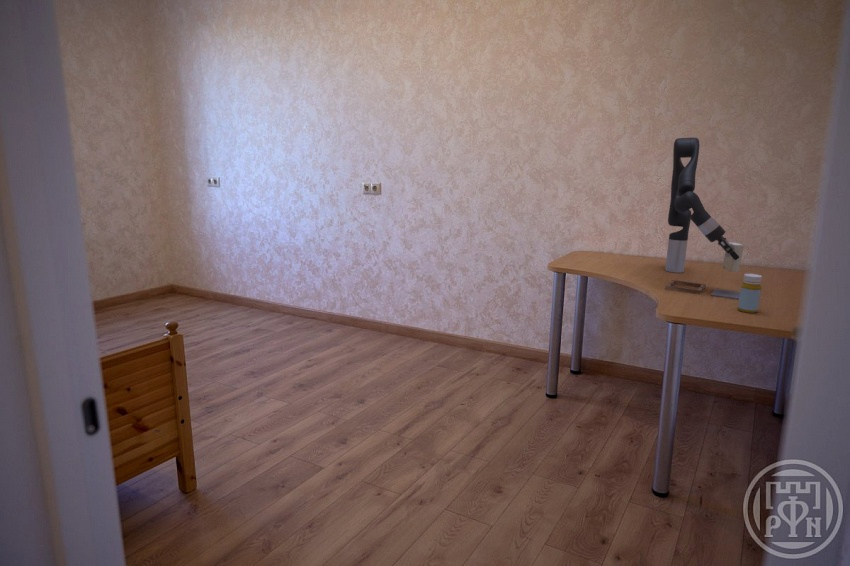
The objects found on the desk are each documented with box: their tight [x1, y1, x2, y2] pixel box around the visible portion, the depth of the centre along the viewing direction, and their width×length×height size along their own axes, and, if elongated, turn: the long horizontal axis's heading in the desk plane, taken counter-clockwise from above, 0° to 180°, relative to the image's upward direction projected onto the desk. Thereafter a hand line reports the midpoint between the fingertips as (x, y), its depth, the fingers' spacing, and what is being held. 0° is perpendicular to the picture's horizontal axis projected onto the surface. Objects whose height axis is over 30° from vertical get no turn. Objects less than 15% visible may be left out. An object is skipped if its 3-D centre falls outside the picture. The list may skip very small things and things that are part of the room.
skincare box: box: [722, 241, 745, 273], centre depth 249 cm, size 6×4×12 cm
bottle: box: [737, 273, 763, 314], centre depth 227 cm, size 7×7×15 cm
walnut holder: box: [664, 279, 706, 295], centre depth 264 cm, size 15×15×2 cm
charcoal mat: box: [710, 288, 741, 301], centre depth 254 cm, size 13×12×1 cm
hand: (736, 257), depth 249 cm, fingers closed on skincare box, 7 cm apart
